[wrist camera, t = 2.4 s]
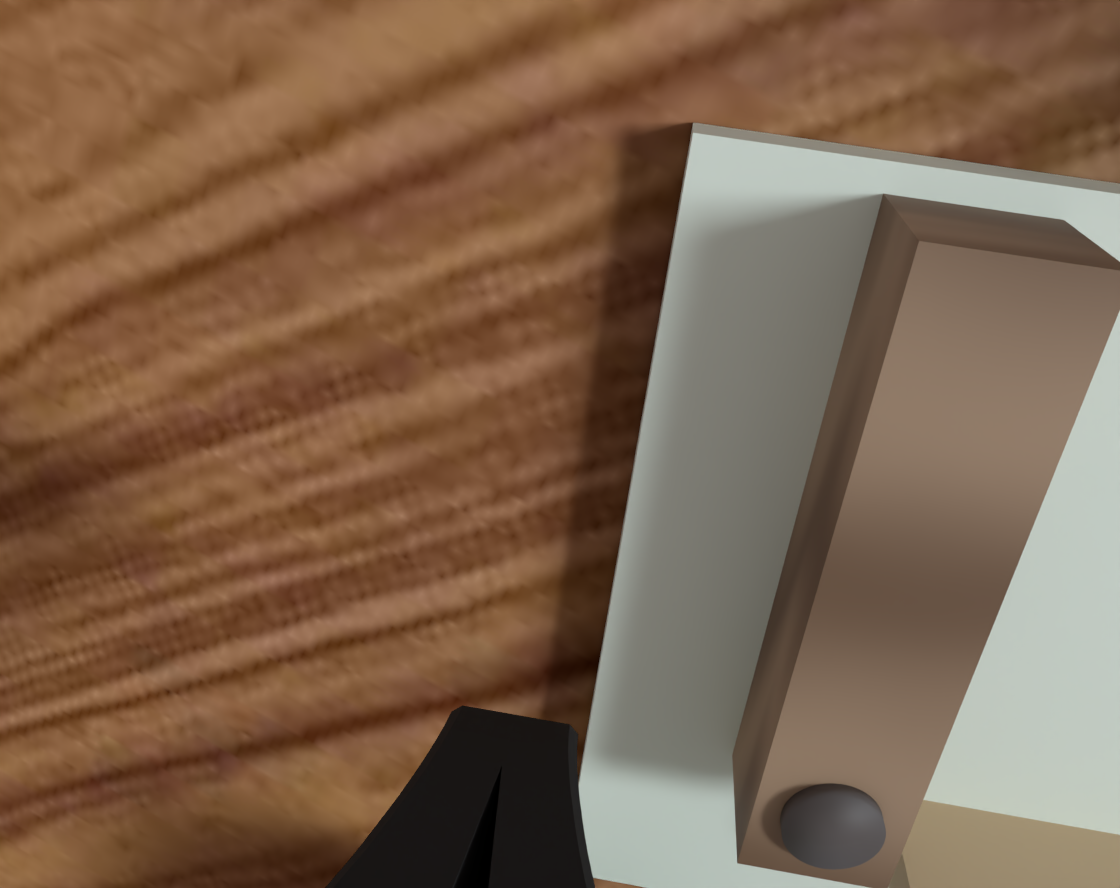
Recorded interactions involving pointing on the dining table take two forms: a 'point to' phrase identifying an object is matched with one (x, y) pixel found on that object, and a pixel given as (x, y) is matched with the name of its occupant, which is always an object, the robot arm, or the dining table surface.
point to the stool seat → (767, 523)
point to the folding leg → (912, 523)
